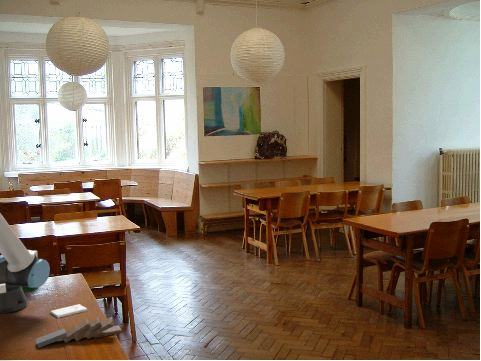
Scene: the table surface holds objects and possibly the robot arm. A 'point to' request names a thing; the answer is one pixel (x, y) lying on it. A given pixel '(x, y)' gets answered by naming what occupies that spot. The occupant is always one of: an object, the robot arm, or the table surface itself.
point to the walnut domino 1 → (77, 330)
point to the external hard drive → (68, 311)
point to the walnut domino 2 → (94, 325)
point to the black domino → (51, 338)
